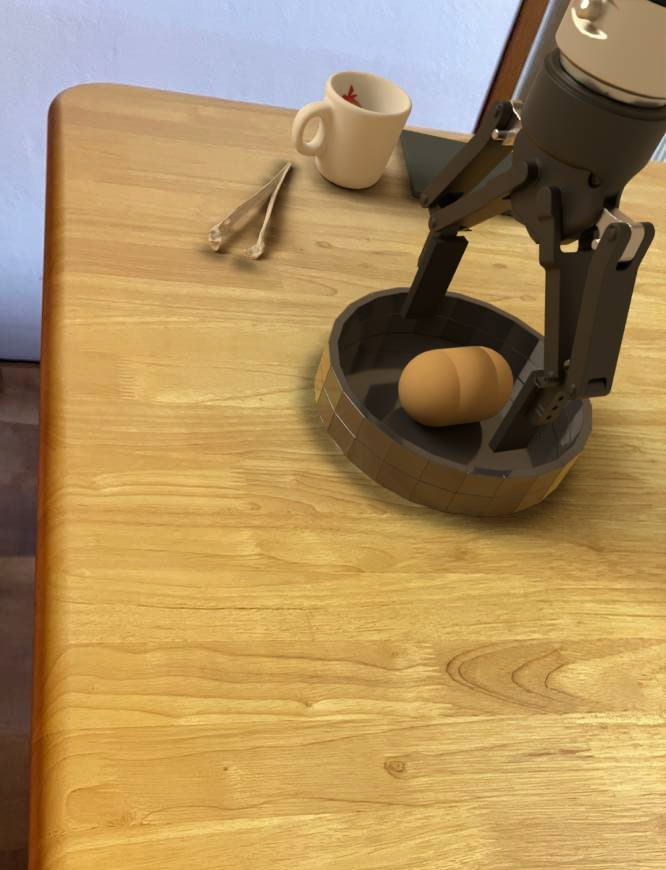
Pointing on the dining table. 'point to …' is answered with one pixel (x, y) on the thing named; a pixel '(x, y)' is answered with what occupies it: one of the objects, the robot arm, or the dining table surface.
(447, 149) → the mat
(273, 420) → the dining table surface
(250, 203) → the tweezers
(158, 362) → the dining table surface
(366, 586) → the dining table surface
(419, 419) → the potato
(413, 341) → the pan
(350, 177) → the cup
